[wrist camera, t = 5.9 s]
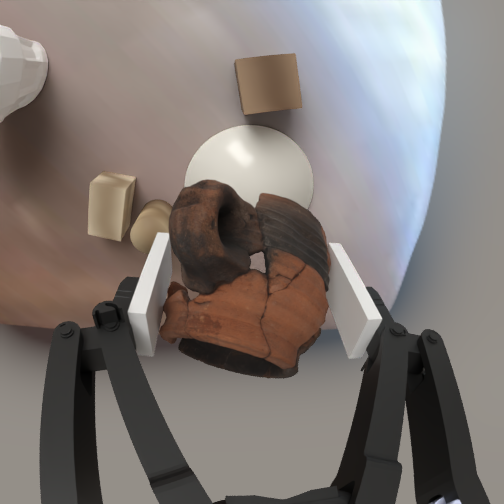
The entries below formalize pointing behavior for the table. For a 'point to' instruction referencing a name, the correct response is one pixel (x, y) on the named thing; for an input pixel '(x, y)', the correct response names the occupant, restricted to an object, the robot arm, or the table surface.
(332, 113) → the table surface
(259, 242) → the pottery mug
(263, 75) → the walnut block
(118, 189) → the maple block
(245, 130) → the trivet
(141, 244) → the oak dowel offcut
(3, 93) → the cup
